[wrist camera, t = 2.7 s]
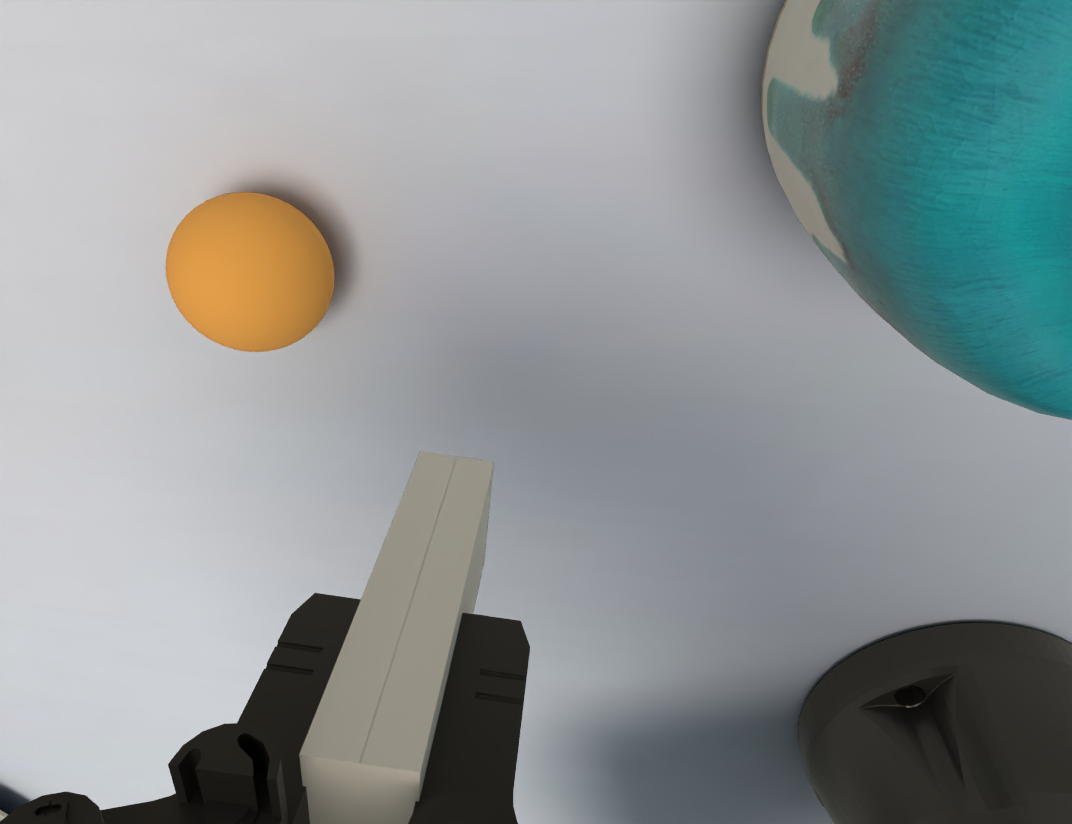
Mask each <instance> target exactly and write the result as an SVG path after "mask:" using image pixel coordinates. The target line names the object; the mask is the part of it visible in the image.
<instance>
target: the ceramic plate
mask: <svg viewBox="0 0 1072 824" xmlns="http://www.w3.org/2000/svg"><path fill="white" fill-rule="evenodd" d="M6 816H8V814H6V813H5V812H3V811H1V810H0V821H1V820H3V819H4V818H5V817H6Z"/></svg>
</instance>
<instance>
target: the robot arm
mask: <svg viewBox="0 0 1072 824" xmlns="http://www.w3.org/2000/svg"><path fill="white" fill-rule="evenodd" d="M493 466H494V462H493V461H486V460H479V459H472V458H465V457H457V456H450V455H443V454H436V453H429V452H422V451H420V453H419V455H418V458H417V460H416V463H415V465H414V468H413V470H412V473H411V475H410V478H409V480H408V483H407V485H406V488H405V490H404V493H403V495H402V498H401V501H400V503H399V506H398V508H397V511H396V513H395V516H394V518H393V521H392V523H391V526H390V528H389V531H388V533H387V536H386V538H385V541H384V543H383V546H382V548H381V551H380V553H379V556H378V558H377V561H376V563H375V566H374V568H373V571H372V573H371V576H370V578H369V581H368V583H367V586H366V588H365V591H364V593H363V596H362V598H361V600H360V599H353V598H346V597H339V596H332V595H325V594H318V593H314V594H313V595H312V596H311V597H310V598H309V599H308V600H307V601H306V602H305V603H303V604H302V605H301V606H300V607H299V608H298V609H297V610H296V611H295V612H294V613H292V614H291V616H290V618H289V620H288V622H287V624H286V626H285V628H284V630H283V632H282V634H281V636H280V638H279V640H278V645H277V647H275V648H274V650H273V652H272V654H271V656H270V658H269V660H268V662H267V667H266V669H264V670H263V672H262V674H261V676H260V678H259V680H258V682H257V684H256V686H255V688H254V690H253V692H252V694H251V696H250V699H249V701H248V703H247V705H246V707H245V709H244V711H243V713H242V715H241V717H240V719H239V721H238V723H234V724H223V725H220V726H217V727H214V728H211V729H209V730H206V731H203V732H201V733H200V734H199V735H197V736H196V737H194V738H193V739H192V740H190V741H189V742H187V743H186V744H184V745H183V746H182V747H181V749H180V750H179V751H178V752H177V754H176V755H175V756H174V758H173V759H172V760H171V761H170V763H169V764H168V766H169V769H170V773H171V776H172V780H173V784H174V787H175V791H176V794H174V795H172V796H169V797H165V798H162V799H158V800H155V801H150V802H145V803H139V804H133V805H128V806H122V807H117V808H111V809H105V810H100V809H99V807H98V806H97V805H96V804H95V803H94V802H92V801H91V800H90V799H89V798H88V797H87V796H85V795H80V794H75V793H70V792H61V793H56V794H50V795H44V796H41V797H39V798H37V799H35V800H32V801H30V802H28V803H26V804H24V805H22V806H20V807H18V808H16V809H15V810H14V811H13V812H11V813H10V814H9V815H8V816H6V817H5V818H4V819H3V820H1V821H0V824H518V823H517V820H516V816H515V812H514V808H513V788H514V779H515V771H516V762H517V754H518V745H519V737H520V728H521V720H522V711H523V702H524V694H525V686H526V677H527V669H528V660H529V652H530V646H529V643H528V640H527V637H526V635H525V632H524V629H523V626H522V623H521V621H517V620H510V619H503V618H496V617H490V616H483V615H476V614H473V612H474V607H475V603H476V598H477V593H478V589H479V584H480V579H481V575H482V570H483V565H484V559H485V549H486V539H487V528H488V518H489V507H490V497H491V487H492V476H493ZM798 738H799V743H800V747H801V751H802V755H803V759H804V763H805V767H806V771H807V775H808V778H809V781H810V783H811V785H812V788H813V790H814V792H815V794H816V796H817V797H818V799H819V800H820V802H821V804H822V805H823V806H824V807H825V809H826V810H827V812H828V814H829V816H830V817H831V819H832V821H833V822H834V824H1072V644H1070V643H1068V642H1066V641H1064V640H1062V639H1060V638H1058V637H1055V636H1052V635H1050V634H1047V633H1044V632H1040V631H1037V630H1033V629H1029V628H1025V627H1019V626H1013V625H1005V624H992V623H963V624H951V625H943V626H936V627H930V628H925V629H920V630H916V631H912V632H908V633H905V634H901V635H898V636H895V637H892V638H889V639H887V640H884V641H881V642H879V643H876V644H874V645H872V646H870V647H868V648H866V649H864V650H862V651H860V652H858V653H856V654H855V655H853V656H851V657H850V658H848V659H846V660H845V661H843V662H842V663H841V664H839V665H838V666H837V667H835V668H834V669H833V670H831V671H830V672H829V673H828V674H827V675H826V676H825V677H824V678H823V679H822V680H821V681H820V682H819V683H818V684H817V685H816V687H815V688H814V689H813V690H812V692H811V693H810V695H809V696H808V698H807V700H806V702H805V704H804V706H803V708H802V711H801V714H800V717H799V723H798Z"/></svg>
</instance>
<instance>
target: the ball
mask: <svg viewBox="0 0 1072 824" xmlns="http://www.w3.org/2000/svg"><path fill="white" fill-rule="evenodd" d="M166 276H167V282H168V286H169V290H170V292H171V295H172V298H173V300H174V302H175V304H176V306H177V308H178V309H179V311H180V312H181V314H182V315H183V316H184V317H185V319H186V320H187V321H188V322H189V323H190V324H191V325H192V326H193V327H194V328H195V329H196V330H197V331H199V332H200V333H201V334H203V335H204V336H205V337H207V338H209V339H210V340H212V341H214V342H216V343H218V344H221V345H223V346H226V347H229V348H232V349H236V350H241V351H250V352H264V351H271V350H276V349H280V348H283V347H286V346H289V345H291V344H293V343H295V342H297V341H298V340H300V339H302V338H303V337H305V336H306V335H307V334H308V333H309V332H311V331H312V330H313V329H314V328H315V327H316V326H317V325H318V323H319V322H320V321H321V319H322V318H323V316H324V315H325V313H326V311H327V309H328V307H329V304H330V301H331V298H332V295H333V290H334V264H333V260H332V256H331V253H330V250H329V248H328V245H327V244H326V242H325V240H324V238H323V236H322V234H321V233H320V231H319V230H318V229H317V227H316V226H315V225H314V224H313V223H312V221H310V220H309V219H308V218H307V217H306V216H305V215H304V214H303V213H302V212H300V211H299V210H298V209H296V208H295V207H293V206H292V205H290V204H288V203H286V202H284V201H282V200H280V199H278V198H275V197H272V196H269V195H264V194H259V193H251V192H239V193H229V194H224V195H220V196H218V197H215V198H212V199H210V200H207V201H205V202H204V203H202V204H200V205H199V206H197V207H196V208H194V209H193V210H192V211H191V212H190V213H189V214H187V215H186V217H185V218H184V219H183V220H182V222H181V223H180V224H179V225H178V227H177V228H176V230H175V232H174V234H173V236H172V238H171V241H170V244H169V246H168V251H167V257H166Z"/></svg>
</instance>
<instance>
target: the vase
mask: <svg viewBox="0 0 1072 824" xmlns="http://www.w3.org/2000/svg"><path fill="white" fill-rule="evenodd" d="M761 112H762V119H763V127H764V135H765V141H766V145H767V149H768V152H769V155H770V158H771V162H772V165H773V168H774V172H775V174H776V176H777V179H778V181H779V183H780V185H781V187H782V189H783V191H784V193H785V195H786V197H787V199H788V201H789V203H790V205H791V207H792V208H793V210H794V212H795V214H796V216H797V218H798V219H799V221H800V222H801V224H802V226H803V227H804V229H805V230H806V231H807V233H808V234H809V235H810V237H811V238H812V239H813V241H814V242H815V243H816V245H817V246H818V247H819V248H820V250H821V251H822V252H823V254H824V255H825V256H826V257H827V259H828V260H829V261H830V263H831V264H832V265H833V266H834V268H835V269H836V270H837V271H838V273H839V274H840V275H841V276H842V277H843V278H844V279H845V281H846V282H847V283H848V284H849V285H850V286H851V287H852V288H853V290H854V291H855V292H856V293H857V294H858V295H859V296H860V297H861V298H862V299H863V300H864V301H865V302H866V303H867V304H868V305H869V306H870V307H871V308H872V309H873V310H874V311H875V312H876V313H877V314H879V315H880V316H881V317H882V318H883V319H884V320H885V321H886V322H888V323H889V324H890V325H891V326H892V327H893V328H894V329H895V330H897V331H898V332H899V333H900V334H901V335H902V336H903V337H905V338H906V339H907V340H908V341H909V342H910V343H912V344H913V345H914V346H915V347H916V348H917V349H919V350H920V351H922V352H923V353H924V354H926V355H927V356H928V357H930V358H931V359H932V360H934V361H935V362H936V363H938V364H940V365H941V366H943V367H945V368H946V369H948V370H950V371H951V372H953V373H955V374H956V375H958V376H960V377H961V378H963V379H965V380H966V381H968V382H970V383H971V384H973V385H975V386H976V387H978V388H980V389H981V390H983V391H985V392H986V393H988V394H991V395H993V396H996V397H998V398H1001V399H1003V400H1006V401H1008V402H1011V403H1014V404H1016V405H1019V406H1022V407H1024V408H1027V409H1029V410H1032V411H1035V412H1037V413H1041V414H1046V415H1051V416H1056V417H1060V418H1065V419H1070V420H1072V0H785V3H784V5H783V7H782V9H781V11H780V13H779V15H778V18H777V21H776V24H775V27H774V30H773V33H772V36H771V40H770V43H769V46H768V49H767V55H766V60H765V66H764V72H763V78H762V102H761Z"/></svg>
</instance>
